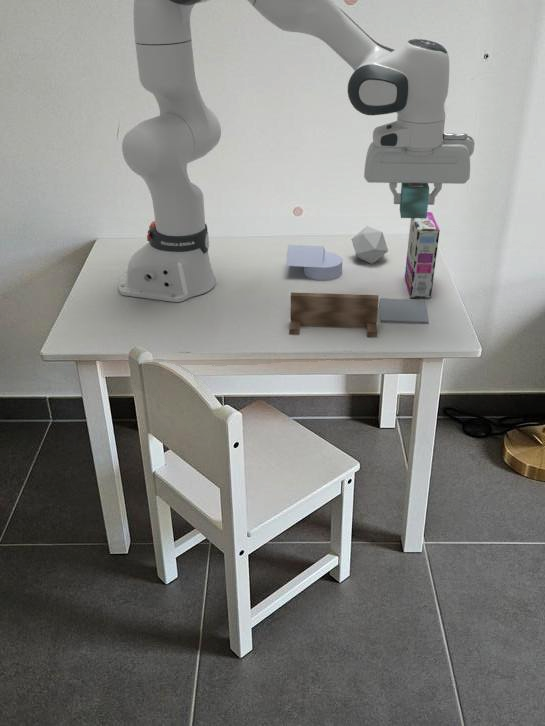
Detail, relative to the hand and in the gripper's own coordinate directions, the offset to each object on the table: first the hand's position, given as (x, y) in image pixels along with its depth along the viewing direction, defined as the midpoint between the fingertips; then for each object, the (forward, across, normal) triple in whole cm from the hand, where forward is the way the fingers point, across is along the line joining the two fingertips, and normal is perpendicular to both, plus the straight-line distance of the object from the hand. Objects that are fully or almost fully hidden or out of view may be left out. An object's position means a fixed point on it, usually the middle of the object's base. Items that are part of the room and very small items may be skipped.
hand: (413, 203), depth 146 cm
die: (+25, +7, -27) cm, 37 cm away
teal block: (+2, 0, 0) cm, 2 cm away
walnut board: (+24, +15, +9) cm, 30 cm away
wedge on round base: (+25, +20, -19) cm, 37 cm away
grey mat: (+24, 0, 0) cm, 24 cm away
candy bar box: (+25, -4, -12) cm, 28 cm away
